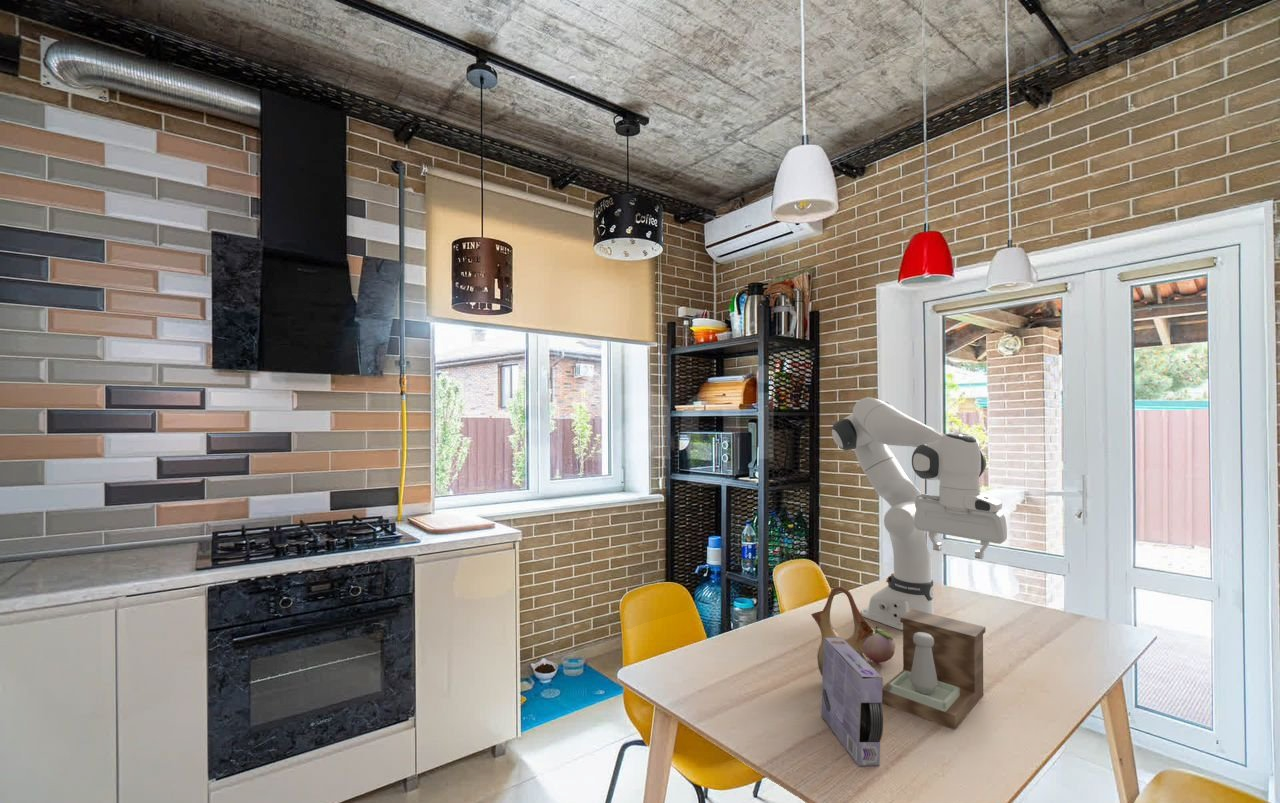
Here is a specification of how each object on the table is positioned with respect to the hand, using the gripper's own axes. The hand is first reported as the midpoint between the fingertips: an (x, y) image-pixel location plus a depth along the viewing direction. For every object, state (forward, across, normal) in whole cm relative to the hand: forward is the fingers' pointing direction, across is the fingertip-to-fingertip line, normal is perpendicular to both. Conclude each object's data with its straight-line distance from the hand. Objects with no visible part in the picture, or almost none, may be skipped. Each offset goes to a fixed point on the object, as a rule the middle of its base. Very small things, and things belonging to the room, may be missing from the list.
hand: (957, 554), depth 140 cm
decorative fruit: (+33, -18, -2) cm, 38 cm away
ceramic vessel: (+33, -18, -23) cm, 44 cm away
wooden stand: (+33, -2, -11) cm, 34 cm away
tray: (+30, -2, -17) cm, 34 cm away
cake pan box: (+33, -8, -42) cm, 54 cm away
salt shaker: (+29, -2, -17) cm, 34 cm away
